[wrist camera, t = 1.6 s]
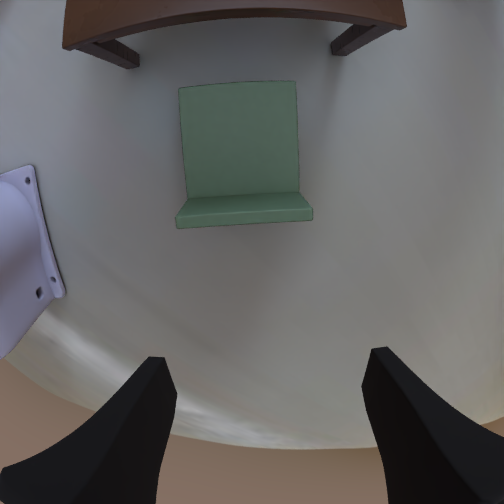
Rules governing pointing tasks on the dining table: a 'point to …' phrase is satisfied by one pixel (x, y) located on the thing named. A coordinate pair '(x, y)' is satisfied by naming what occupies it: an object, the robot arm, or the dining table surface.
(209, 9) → the desk
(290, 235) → the dining table surface
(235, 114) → the chair
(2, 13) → the dining table surface
